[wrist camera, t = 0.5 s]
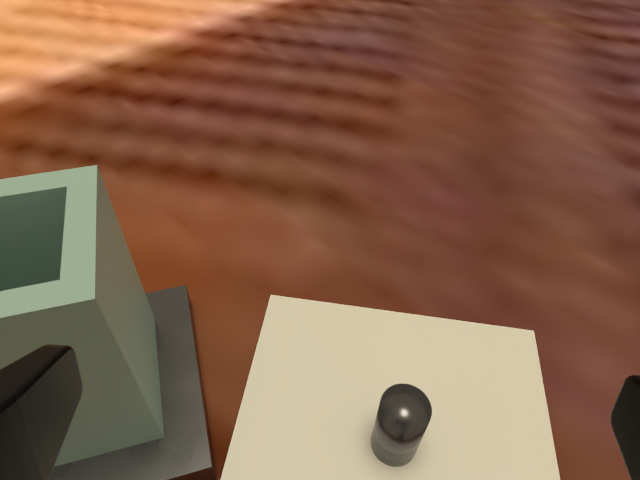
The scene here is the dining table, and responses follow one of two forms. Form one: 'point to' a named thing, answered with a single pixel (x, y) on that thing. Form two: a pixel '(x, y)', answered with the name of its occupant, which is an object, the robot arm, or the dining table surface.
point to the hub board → (356, 373)
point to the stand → (164, 409)
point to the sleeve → (79, 305)
